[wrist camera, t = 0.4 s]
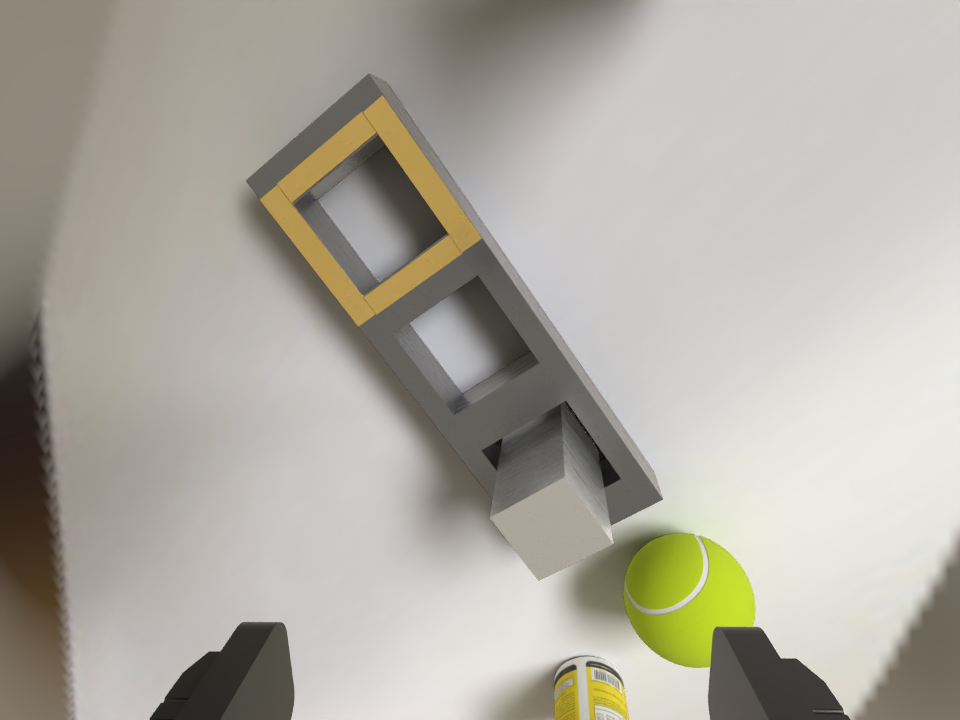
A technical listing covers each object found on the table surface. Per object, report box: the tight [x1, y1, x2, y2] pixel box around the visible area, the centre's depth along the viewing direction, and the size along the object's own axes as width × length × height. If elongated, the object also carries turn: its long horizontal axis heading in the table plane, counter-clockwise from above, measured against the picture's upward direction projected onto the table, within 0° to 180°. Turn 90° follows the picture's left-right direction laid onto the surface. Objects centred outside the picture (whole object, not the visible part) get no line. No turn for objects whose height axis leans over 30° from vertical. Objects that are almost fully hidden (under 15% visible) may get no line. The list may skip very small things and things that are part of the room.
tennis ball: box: [623, 533, 755, 668], centre depth 33 cm, size 7×7×7 cm
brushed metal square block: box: [490, 402, 614, 581], centre depth 30 cm, size 4×4×9 cm
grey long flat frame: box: [246, 74, 663, 525], centre depth 31 cm, size 8×26×3 cm, turn 36°
